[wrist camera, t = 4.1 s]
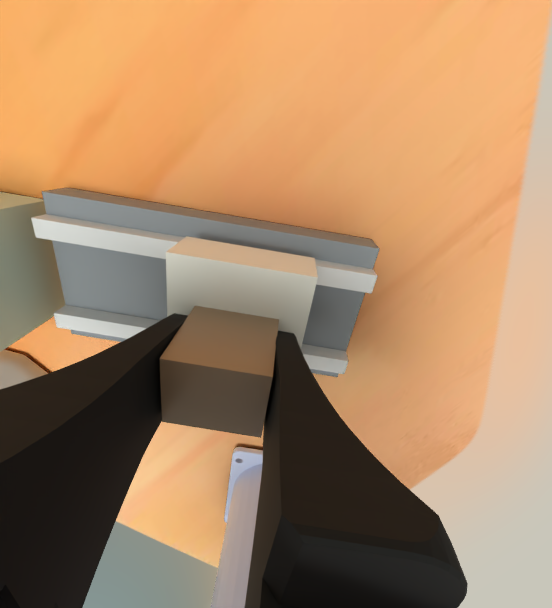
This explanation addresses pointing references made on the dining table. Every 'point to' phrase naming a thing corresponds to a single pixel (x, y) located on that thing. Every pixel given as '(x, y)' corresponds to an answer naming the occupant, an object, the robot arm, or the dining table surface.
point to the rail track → (152, 266)
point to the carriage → (229, 330)
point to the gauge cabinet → (25, 270)
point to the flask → (17, 369)
